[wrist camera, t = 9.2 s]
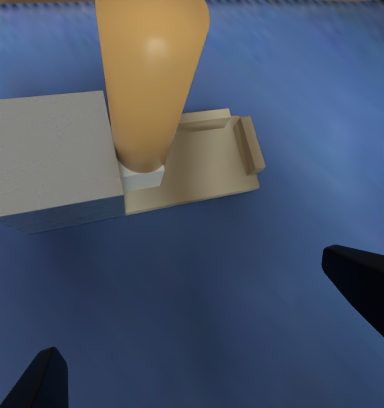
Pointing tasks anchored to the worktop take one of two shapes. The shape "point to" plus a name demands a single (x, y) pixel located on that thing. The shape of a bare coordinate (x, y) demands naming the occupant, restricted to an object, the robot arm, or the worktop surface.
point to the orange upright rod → (148, 78)
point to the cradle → (204, 162)
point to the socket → (57, 162)
